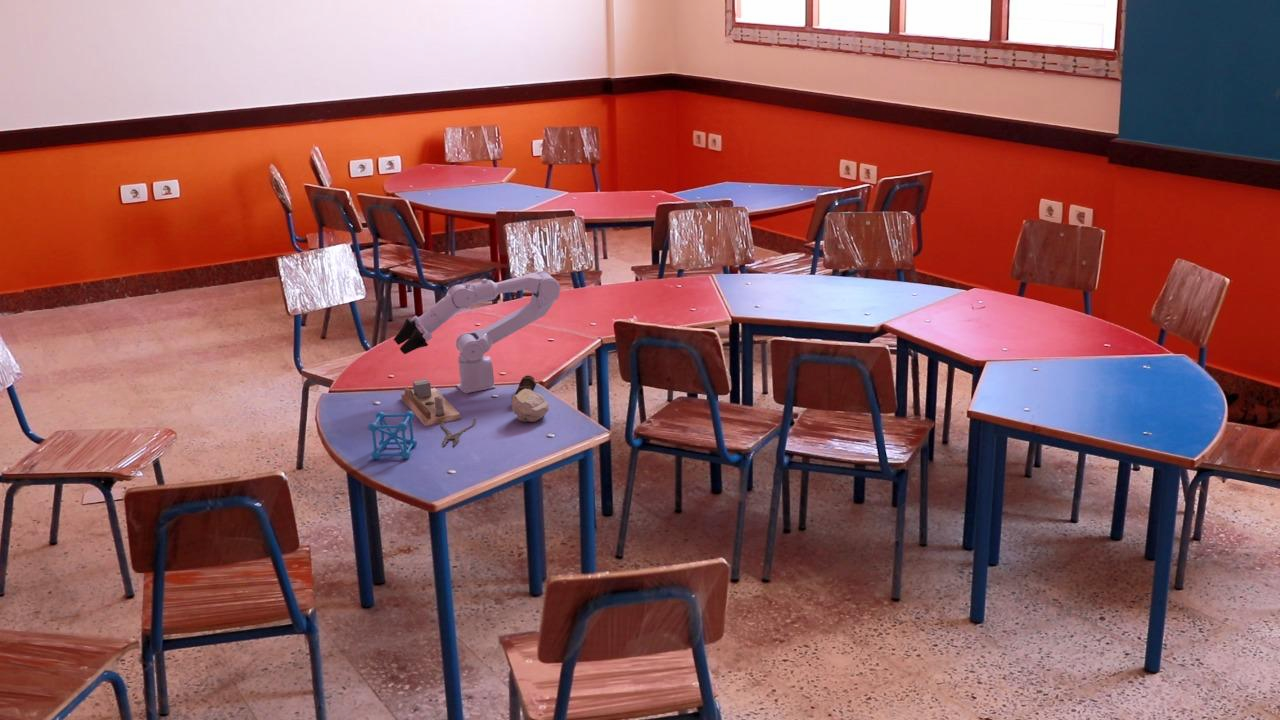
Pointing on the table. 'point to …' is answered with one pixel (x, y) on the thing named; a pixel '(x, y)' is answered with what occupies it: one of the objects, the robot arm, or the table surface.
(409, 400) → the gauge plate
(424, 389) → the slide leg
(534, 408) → the beige rock
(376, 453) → the molecular structure
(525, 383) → the bolt
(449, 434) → the pliers
